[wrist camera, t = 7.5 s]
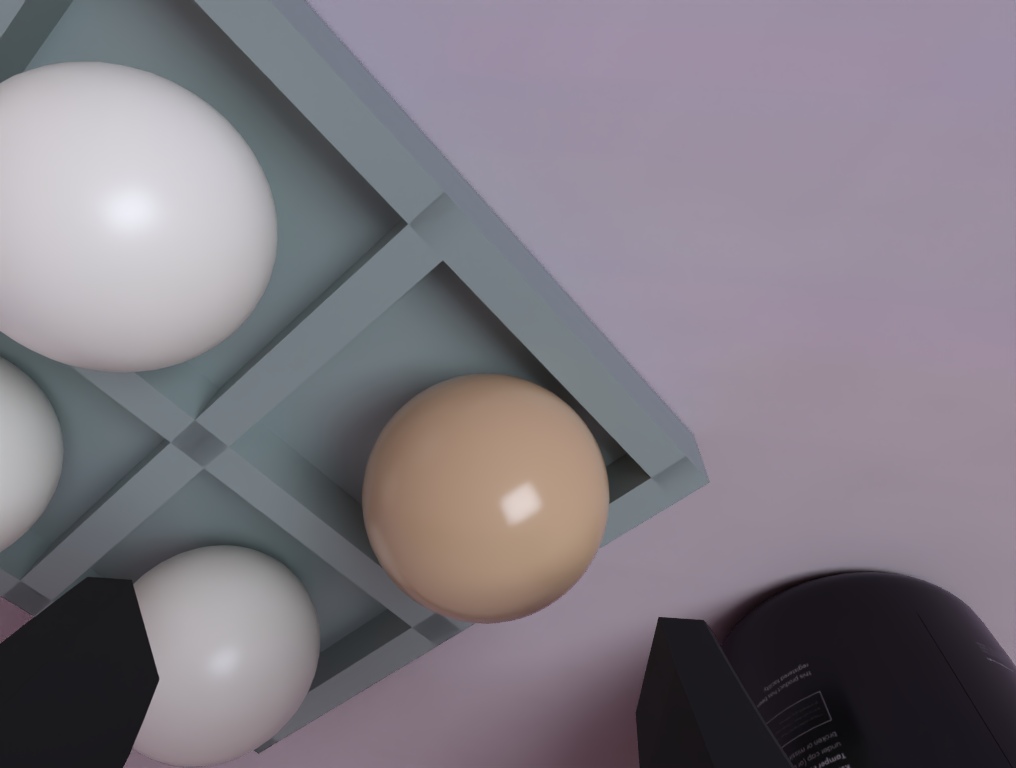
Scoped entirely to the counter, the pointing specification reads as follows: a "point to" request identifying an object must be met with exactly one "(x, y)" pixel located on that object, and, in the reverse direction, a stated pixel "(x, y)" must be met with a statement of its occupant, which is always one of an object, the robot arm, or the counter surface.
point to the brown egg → (485, 498)
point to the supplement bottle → (877, 675)
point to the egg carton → (251, 348)
